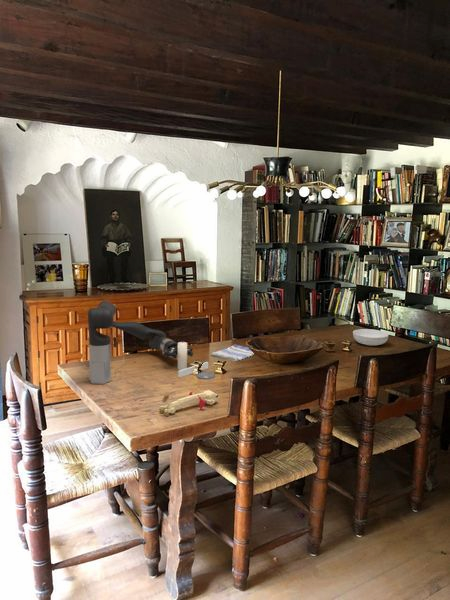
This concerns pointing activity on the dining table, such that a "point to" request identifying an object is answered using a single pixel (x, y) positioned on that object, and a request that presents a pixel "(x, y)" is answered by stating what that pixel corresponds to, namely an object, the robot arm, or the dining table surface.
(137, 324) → the robot arm
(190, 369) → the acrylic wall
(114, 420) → the dining table surface
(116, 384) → the dining table surface
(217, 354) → the dish towel
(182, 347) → the candle
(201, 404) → the rope dog toy
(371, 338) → the serving bowl
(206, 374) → the coaster
